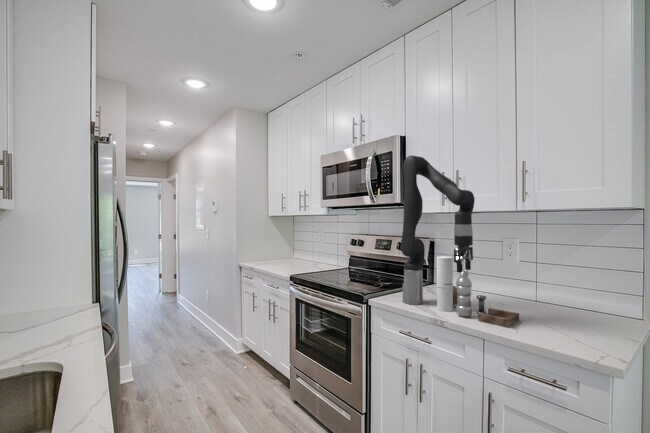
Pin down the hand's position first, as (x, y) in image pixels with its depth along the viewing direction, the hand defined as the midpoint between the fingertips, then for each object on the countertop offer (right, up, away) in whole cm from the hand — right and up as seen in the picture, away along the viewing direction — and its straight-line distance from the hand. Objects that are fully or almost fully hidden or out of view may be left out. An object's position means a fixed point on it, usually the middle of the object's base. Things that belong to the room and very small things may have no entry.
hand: (463, 271), depth 145 cm
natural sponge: (+1, -20, +18) cm, 27 cm away
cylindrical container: (-5, -20, +11) cm, 23 cm away
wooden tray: (+12, -20, -7) cm, 24 cm away
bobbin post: (+9, -20, +3) cm, 22 cm away
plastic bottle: (0, -20, 0) cm, 20 cm away
